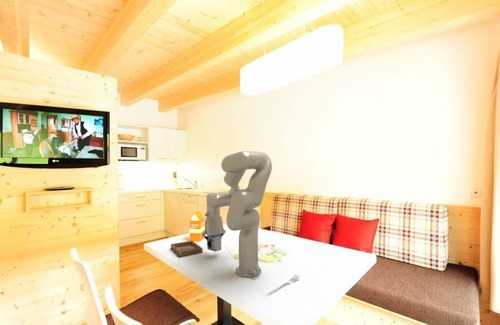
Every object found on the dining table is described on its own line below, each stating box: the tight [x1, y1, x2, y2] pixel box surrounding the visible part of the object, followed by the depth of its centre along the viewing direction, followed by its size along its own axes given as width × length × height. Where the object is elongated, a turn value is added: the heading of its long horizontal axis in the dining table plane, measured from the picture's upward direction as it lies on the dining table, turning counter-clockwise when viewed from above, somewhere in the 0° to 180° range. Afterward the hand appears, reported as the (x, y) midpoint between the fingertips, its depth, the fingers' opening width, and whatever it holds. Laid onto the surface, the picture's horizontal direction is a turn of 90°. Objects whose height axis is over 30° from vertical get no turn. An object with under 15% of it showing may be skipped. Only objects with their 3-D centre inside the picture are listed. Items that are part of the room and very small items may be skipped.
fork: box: [267, 274, 300, 296], centre depth 110 cm, size 3×24×2 cm, turn 136°
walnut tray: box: [170, 240, 204, 258], centre depth 157 cm, size 18×14×3 cm
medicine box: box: [206, 235, 222, 252], centre depth 147 cm, size 8×4×9 cm, turn 47°
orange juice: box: [189, 210, 205, 243], centre depth 181 cm, size 8×9×20 cm
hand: (214, 245), depth 146 cm, fingers closed on medicine box, 5 cm apart
